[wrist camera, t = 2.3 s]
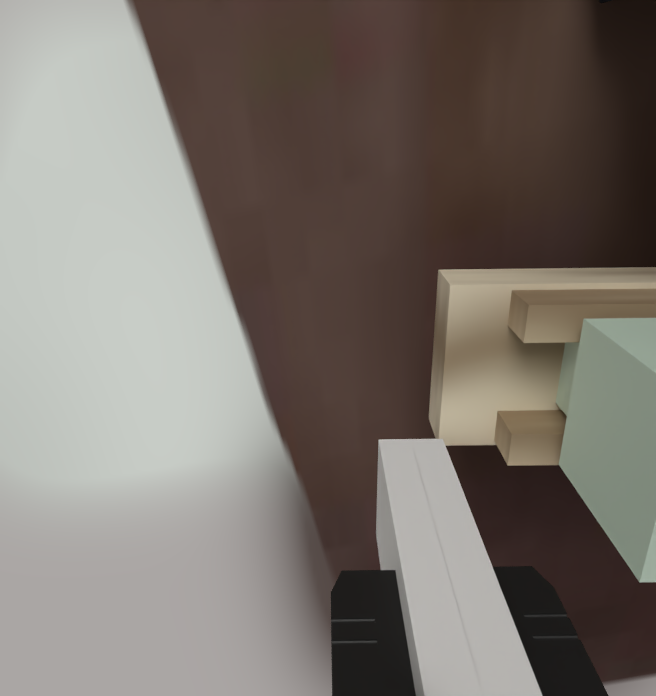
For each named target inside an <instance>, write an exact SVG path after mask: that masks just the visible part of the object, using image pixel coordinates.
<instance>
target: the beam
mask: <svg viewBox="0 0 656 696" xmlns="http://www.w3.org/2000/svg"><path fill="white" fill-rule="evenodd" d="M598 318H656V267H627V268H539V269H452V270H438V284H437V299H436V315H435V330H434V345H433V360H432V375H431V390H430V406H429V421H430V424H431V426H432V429H433V432H434V435H435V438H436V439H443V441H444V443H445V446H453V445H497V447H498V449H499V450H500V452H501V454H502V456H503V458H504V460H505V462H506V463H507V465H508V466H519V465H559V459H560V453H561V447H562V442H563V436H564V430H565V424H566V418H567V416H566V415H565V413H564V412H563V411H562V410H561V409H560V407H559V406H558V405H557V404H556V397H557V390H558V384H559V378H560V372H561V366H562V359H563V353H564V347H565V342H580V337H581V331H582V325H583V319H598Z"/></svg>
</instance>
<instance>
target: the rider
mask: <svg viewBox="0 0 656 696" xmlns="http://www.w3.org/2000/svg"><path fill="white" fill-rule="evenodd" d="M556 404H557V405H558V406H559V407H560V409H561V410H562V411H563V412H564V413H565V415H566V416H567V418H566V424H565V430H564V436H563V442H562V447H561V453H560V459H559V466H560V467H561V469H562V470H563V471H564V473H565V474H566V476H567V477H568V479H569V480H570V482H571V483H572V485H573V486H574V488H575V489H576V490H577V492H578V493H579V495H580V496H581V498H582V499H583V501H584V502H585V504H586V505H587V506H588V508H589V509H590V511H591V512H592V514H593V515H594V517H595V518H596V520H597V521H598V523H599V524H600V525H601V527H602V528H603V530H604V531H605V533H606V534H607V536H608V537H609V539H610V540H611V541H612V543H613V544H614V546H615V547H616V549H617V550H618V552H619V553H620V555H621V556H622V557H623V559H624V560H625V562H626V563H627V565H628V566H629V568H630V569H631V571H632V572H633V574H634V575H635V576H636V578H637V579H638V581H639V582H656V318H598V319H583V325H582V331H581V337H580V342H565V347H564V353H563V359H562V366H561V372H560V378H559V384H558V390H557V397H556Z"/></svg>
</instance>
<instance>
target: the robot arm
mask: <svg viewBox="0 0 656 696" xmlns="http://www.w3.org/2000/svg"><path fill="white" fill-rule="evenodd" d="M376 537H377V545H378V552H379V560H380V568H381V570H360V571H341V573H340V575H339V577H338V579H337V581H336V583H335V585H334V587H333V589H332V591H331V637H332V640H331V641H332V642H331V643H332V696H608V694H607V692H606V690H605V688H604V686H603V684H602V682H601V680H600V678H599V676H598V674H597V672H596V670H595V668H594V666H593V664H592V662H591V660H590V658H589V656H588V654H587V652H586V650H585V648H584V646H583V644H582V642H581V640H578V637H577V633H576V631H575V629H574V627H573V625H572V623H571V621H570V619H569V618H567V613H566V611H565V609H564V607H563V605H562V603H561V601H560V599H559V597H558V595H557V593H556V591H555V589H554V587H553V586H552V585H551V584H550V583H549V582H547V581H546V580H545V579H544V578H543V577H542V576H541V575H540V574H539V573H538V572H537V571H536V570H535V569H534V568H533V567H532V566H520V567H492V564H491V562H490V559H489V557H488V554H487V552H486V549H485V546H484V544H483V541H482V539H481V536H480V534H479V531H478V528H477V526H476V523H475V521H474V518H473V515H472V513H471V510H470V508H469V505H468V503H467V500H466V497H465V495H464V492H463V490H462V487H461V485H460V482H459V479H458V477H457V474H456V472H455V469H454V467H453V464H452V461H451V459H450V456H449V454H448V451H447V449H446V446H445V443H444V441H443V439H383V440H379V443H378V481H377V519H376Z"/></svg>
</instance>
